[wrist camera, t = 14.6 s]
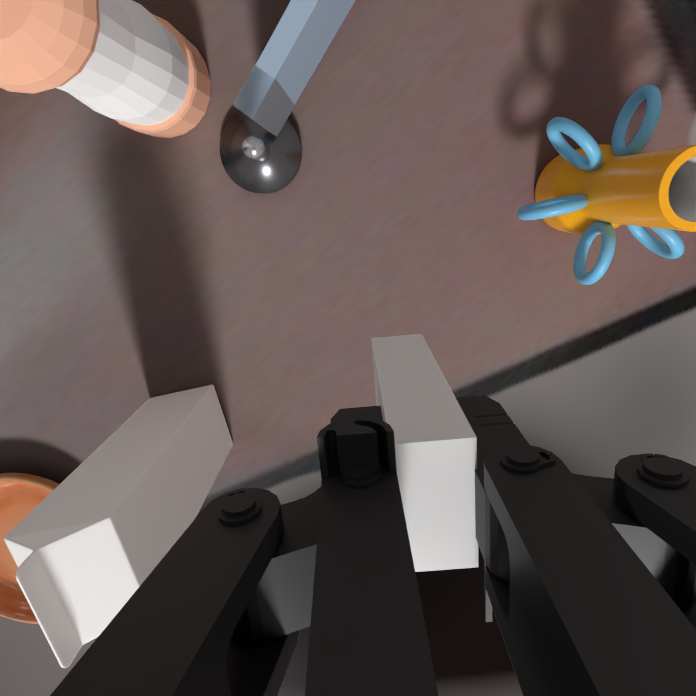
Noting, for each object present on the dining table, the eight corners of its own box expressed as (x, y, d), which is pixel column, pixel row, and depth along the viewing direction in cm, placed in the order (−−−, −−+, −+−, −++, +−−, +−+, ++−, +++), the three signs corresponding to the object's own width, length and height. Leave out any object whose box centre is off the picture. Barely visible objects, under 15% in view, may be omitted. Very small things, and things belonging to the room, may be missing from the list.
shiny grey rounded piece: (228, 195, 39) (215, 195, 35) (217, 111, 37) (202, 102, 33) (305, 190, 38) (299, 190, 35) (298, 105, 37) (291, 95, 33)
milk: (214, 383, 43) (78, 557, 22) (234, 444, 45) (125, 662, 24) (148, 397, 44) (-48, 582, 23) (170, 458, 45) (8, 683, 24)
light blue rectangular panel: (276, 136, 36) (252, 119, 28) (261, 126, 36) (232, 105, 28) (398, -72, 32) (411, -163, 24) (381, -86, 32) (389, -182, 24)
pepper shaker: (203, 23, 35) (33, -165, 17) (217, 134, 37) (81, 74, 19) (102, 31, 36) (-171, -144, 17) (122, 141, 38) (-103, 89, 19)
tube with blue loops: (466, 187, 38) (531, 182, 24) (573, 75, 36) (716, -7, 21) (571, 295, 40) (688, 349, 26) (678, 196, 38) (871, 196, 24)
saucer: (-75, 527, 49) (-102, 548, 46) (25, 428, 45) (2, 444, 42) (55, 626, 52) (37, 651, 49) (157, 541, 48) (144, 562, 46)
